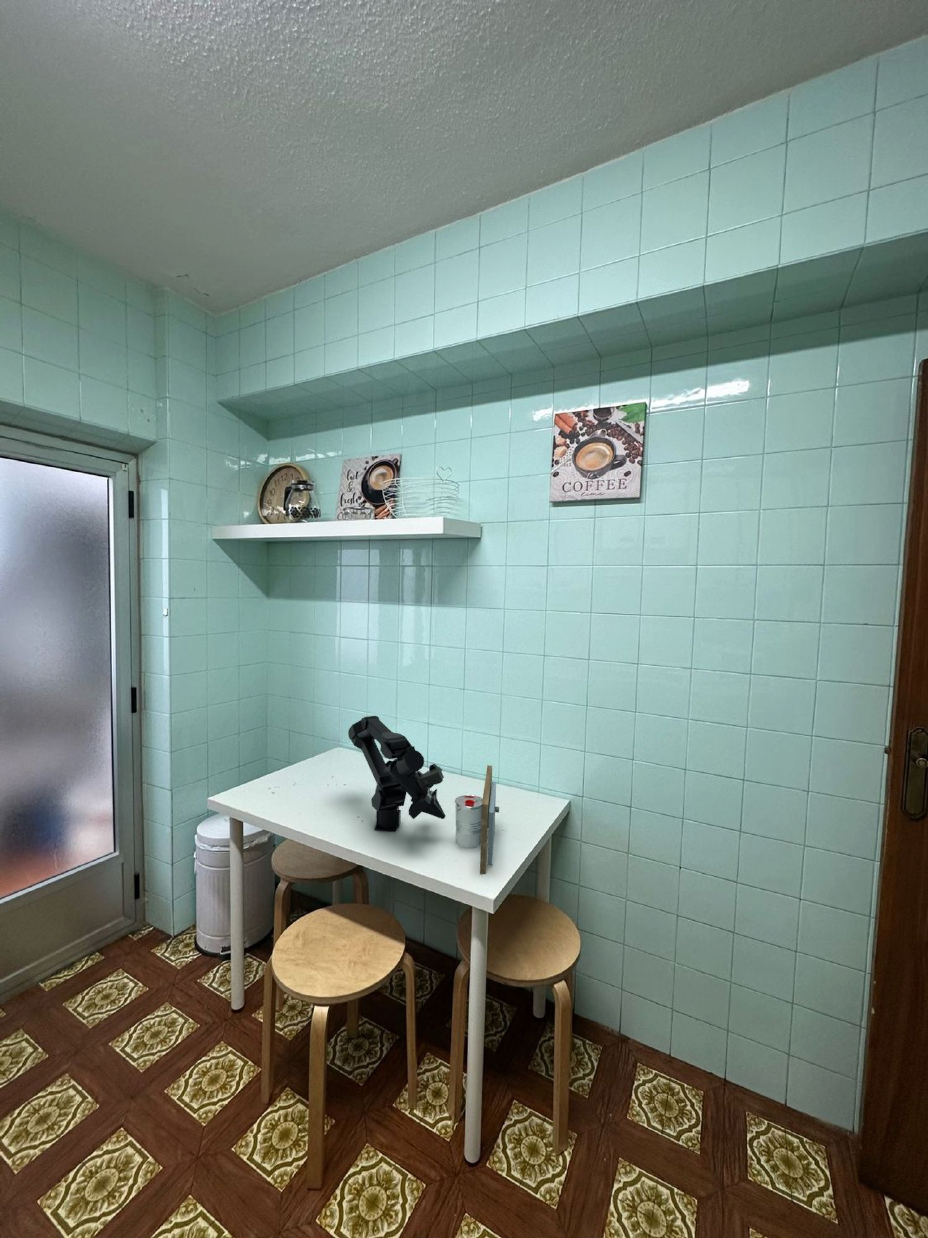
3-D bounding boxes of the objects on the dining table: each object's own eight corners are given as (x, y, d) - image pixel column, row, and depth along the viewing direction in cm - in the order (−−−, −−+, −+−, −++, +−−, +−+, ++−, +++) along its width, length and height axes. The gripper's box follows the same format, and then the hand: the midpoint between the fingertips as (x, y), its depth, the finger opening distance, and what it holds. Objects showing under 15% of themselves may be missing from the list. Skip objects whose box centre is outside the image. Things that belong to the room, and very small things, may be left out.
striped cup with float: (467, 831, 151) (469, 791, 150) (490, 840, 146) (492, 799, 145) (445, 843, 143) (446, 802, 143) (469, 854, 138) (470, 810, 137)
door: (487, 865, 132) (488, 812, 131) (490, 827, 153) (492, 782, 152) (496, 866, 132) (498, 813, 131) (498, 828, 153) (500, 782, 152)
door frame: (479, 874, 128) (481, 804, 127) (485, 822, 157) (487, 765, 156) (485, 874, 128) (487, 804, 127) (490, 822, 157) (492, 765, 156)
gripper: (421, 770, 135) (461, 813, 135) (432, 749, 154) (467, 787, 153) (391, 797, 136) (431, 840, 136) (406, 773, 155) (441, 810, 154)
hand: (444, 817), depth 145 cm, fingers closed
